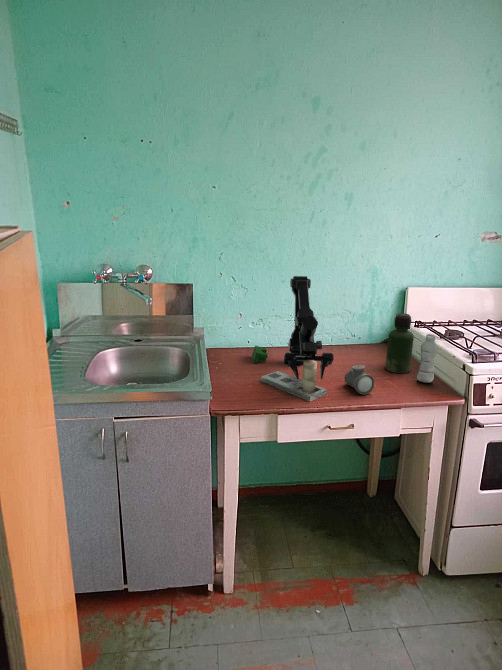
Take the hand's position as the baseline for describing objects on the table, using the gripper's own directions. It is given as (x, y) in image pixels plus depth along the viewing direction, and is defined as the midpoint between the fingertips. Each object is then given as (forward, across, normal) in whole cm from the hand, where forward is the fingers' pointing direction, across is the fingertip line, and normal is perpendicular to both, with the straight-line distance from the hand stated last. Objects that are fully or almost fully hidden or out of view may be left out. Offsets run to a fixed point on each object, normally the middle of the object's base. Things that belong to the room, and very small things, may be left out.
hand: (309, 379), depth 179 cm
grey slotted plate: (0, -5, +10) cm, 11 cm away
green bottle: (-15, +44, +25) cm, 52 cm away
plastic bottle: (-5, +50, +15) cm, 53 cm away
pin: (+4, 0, +6) cm, 7 cm away
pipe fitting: (0, +20, +9) cm, 22 cm away
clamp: (-23, -17, +33) cm, 43 cm away
